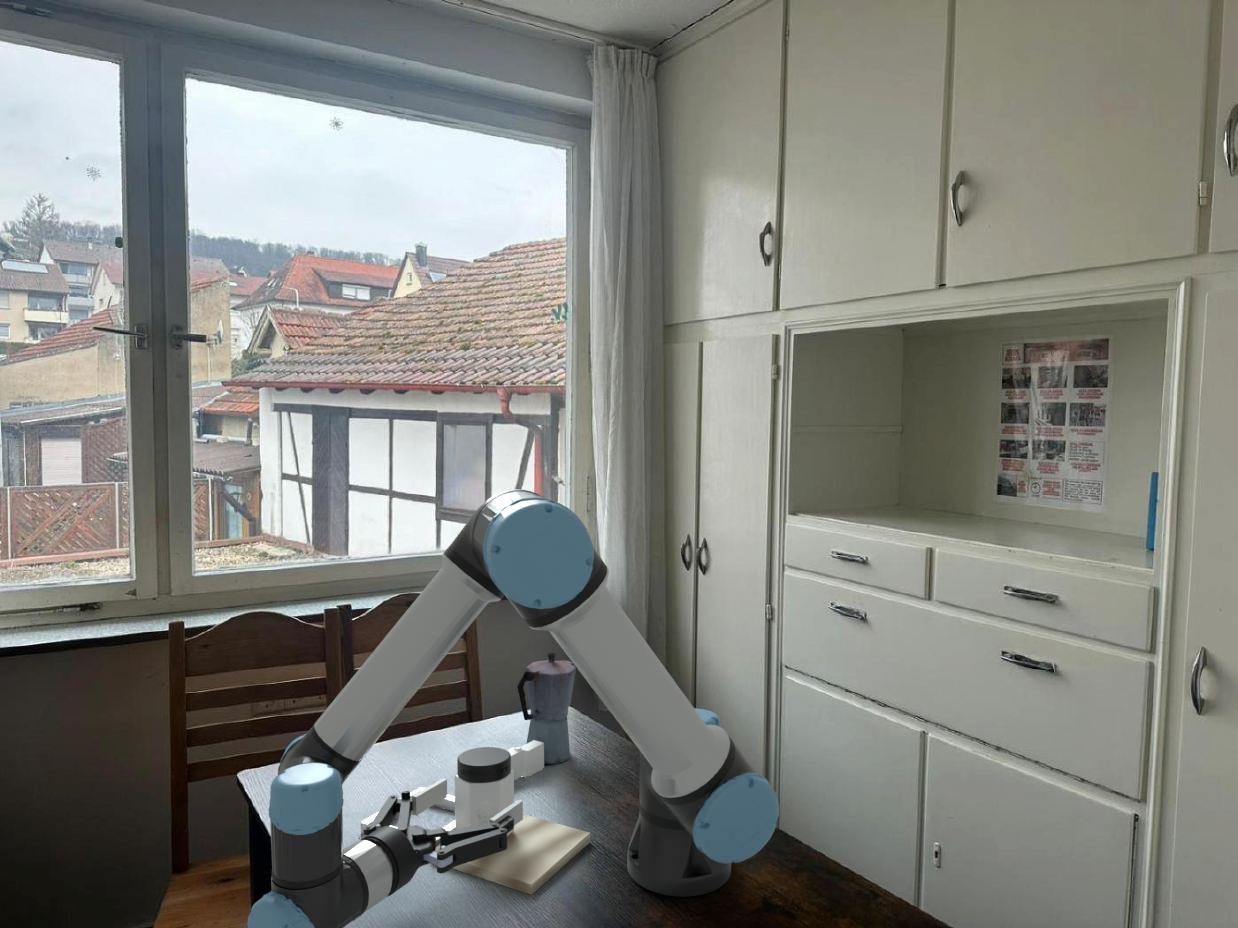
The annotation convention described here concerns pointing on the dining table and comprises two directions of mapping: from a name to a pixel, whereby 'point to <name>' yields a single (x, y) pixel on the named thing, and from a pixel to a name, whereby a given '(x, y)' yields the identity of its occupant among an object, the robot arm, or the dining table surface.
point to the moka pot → (549, 705)
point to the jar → (482, 786)
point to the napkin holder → (527, 759)
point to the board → (529, 855)
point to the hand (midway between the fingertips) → (482, 797)
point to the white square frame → (445, 803)
